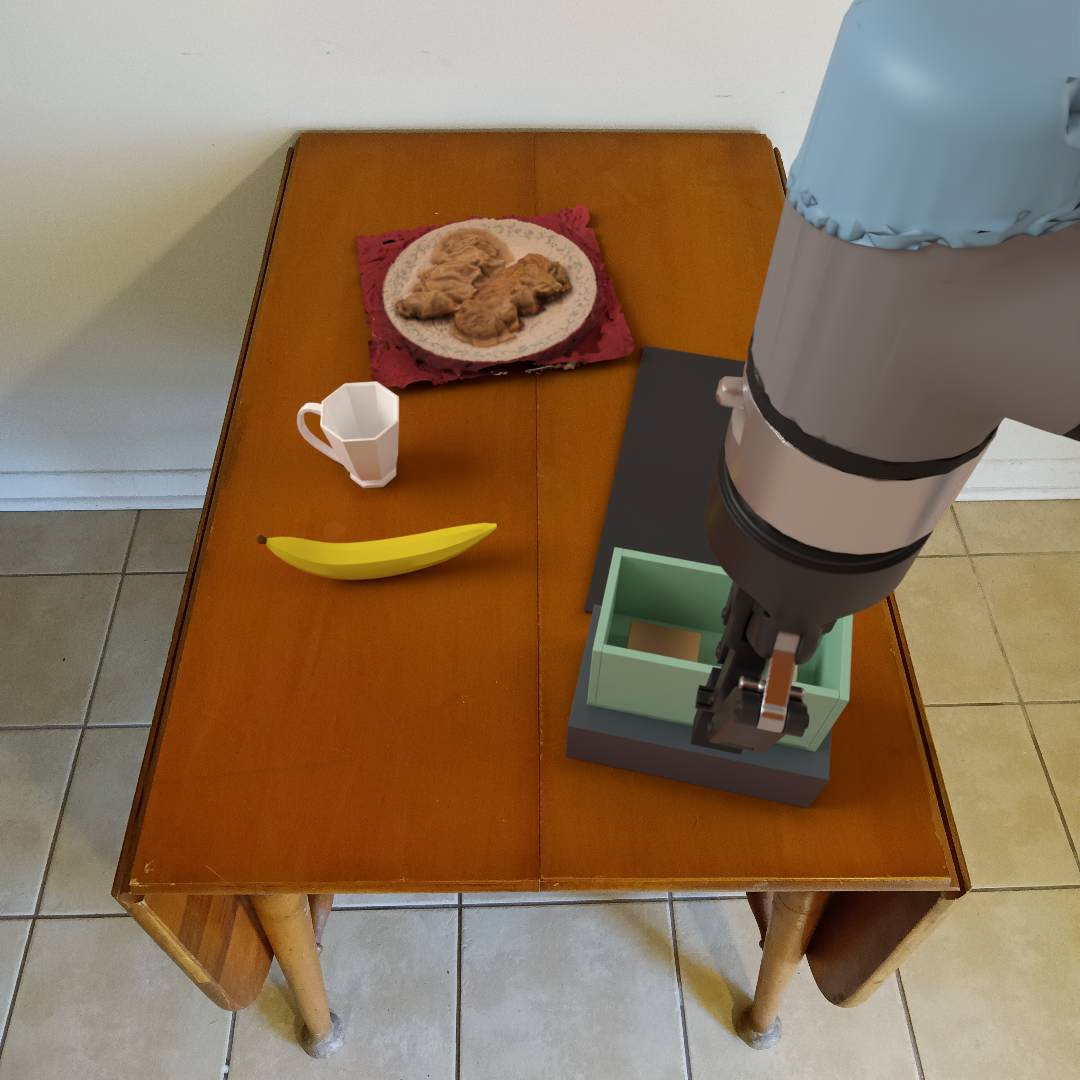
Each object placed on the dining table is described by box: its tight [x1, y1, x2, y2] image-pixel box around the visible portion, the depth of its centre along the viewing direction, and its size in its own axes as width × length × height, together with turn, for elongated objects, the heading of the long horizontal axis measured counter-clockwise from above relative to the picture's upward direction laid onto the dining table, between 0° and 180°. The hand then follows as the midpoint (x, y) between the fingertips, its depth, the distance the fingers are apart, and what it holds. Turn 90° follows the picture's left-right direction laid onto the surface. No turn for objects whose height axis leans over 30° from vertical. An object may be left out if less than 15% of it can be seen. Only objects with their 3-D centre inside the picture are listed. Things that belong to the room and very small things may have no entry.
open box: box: [587, 547, 854, 752], centre depth 65 cm, size 16×8×8 cm, turn 77°
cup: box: [296, 381, 400, 489], centre depth 83 cm, size 7×10×8 cm
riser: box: [565, 604, 833, 809], centre depth 70 cm, size 18×10×6 cm, turn 77°
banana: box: [256, 522, 499, 581], centre depth 78 cm, size 3×19×6 cm, turn 97°
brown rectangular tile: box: [626, 620, 701, 663], centre depth 67 cm, size 5×4×2 cm
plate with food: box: [355, 203, 636, 390], centre depth 97 cm, size 24×26×3 cm
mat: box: [584, 345, 746, 614], centre depth 86 cm, size 14×31×1 cm, turn 168°
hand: (716, 736), depth 51 cm, fingers closed
